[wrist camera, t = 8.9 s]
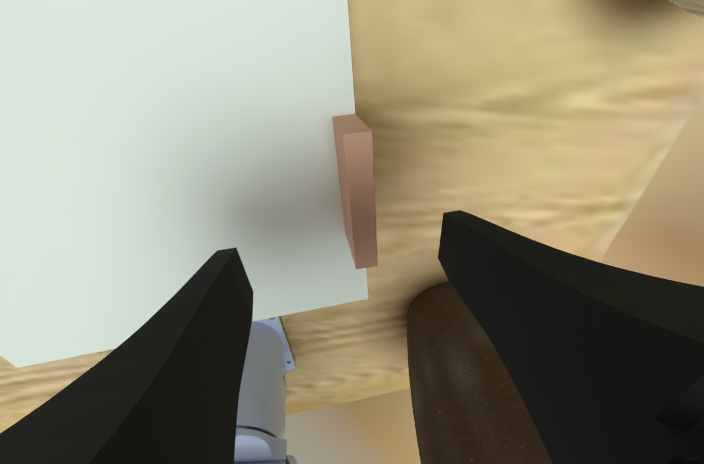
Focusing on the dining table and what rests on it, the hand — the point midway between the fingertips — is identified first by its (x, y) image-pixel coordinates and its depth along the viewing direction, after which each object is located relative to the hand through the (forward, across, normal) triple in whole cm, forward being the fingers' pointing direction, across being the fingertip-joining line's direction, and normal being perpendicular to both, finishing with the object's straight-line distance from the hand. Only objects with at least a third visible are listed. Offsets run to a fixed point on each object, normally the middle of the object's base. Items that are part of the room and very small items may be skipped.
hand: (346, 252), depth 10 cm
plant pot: (+11, -10, +17) cm, 23 cm away
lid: (+6, +9, -1) cm, 10 cm away
